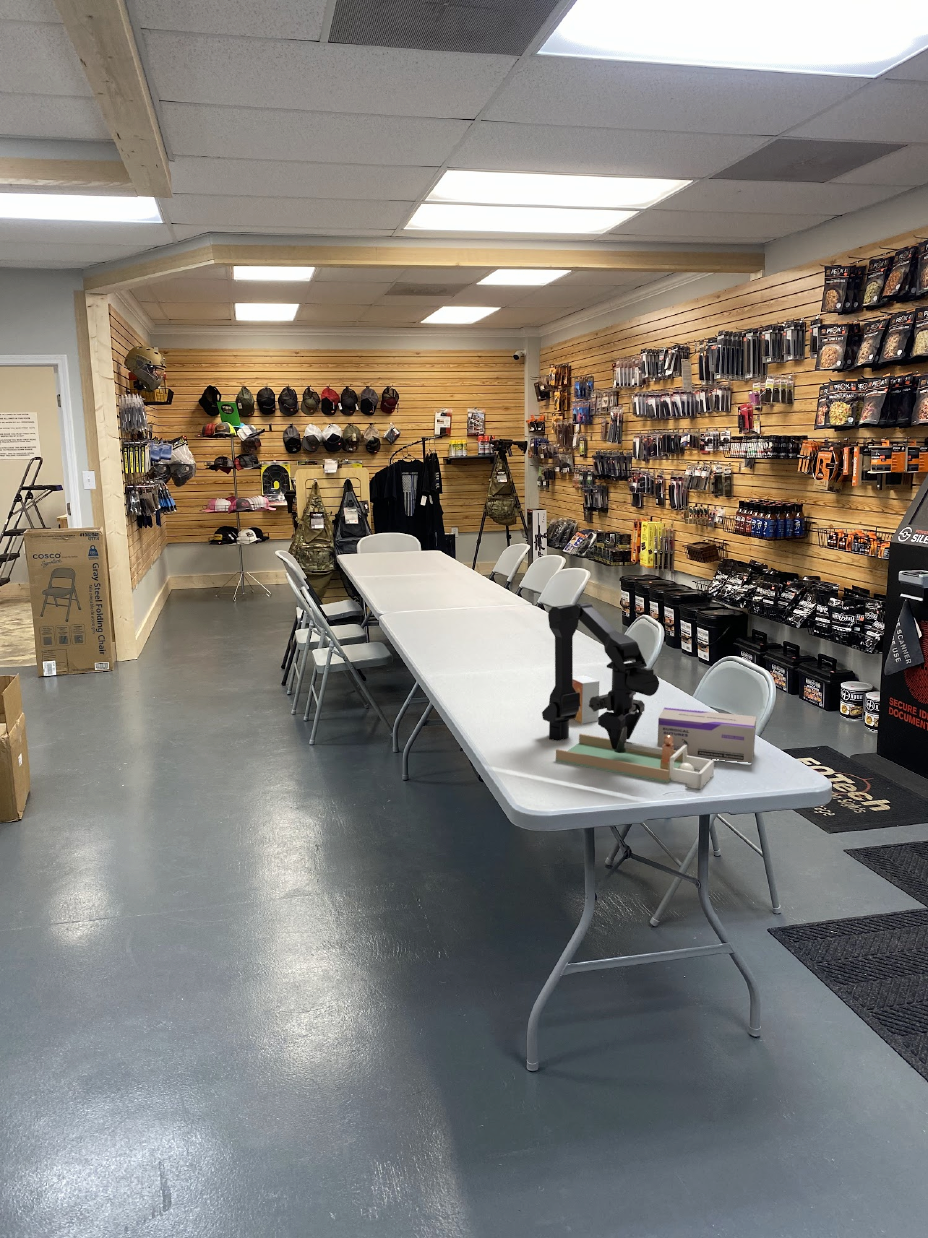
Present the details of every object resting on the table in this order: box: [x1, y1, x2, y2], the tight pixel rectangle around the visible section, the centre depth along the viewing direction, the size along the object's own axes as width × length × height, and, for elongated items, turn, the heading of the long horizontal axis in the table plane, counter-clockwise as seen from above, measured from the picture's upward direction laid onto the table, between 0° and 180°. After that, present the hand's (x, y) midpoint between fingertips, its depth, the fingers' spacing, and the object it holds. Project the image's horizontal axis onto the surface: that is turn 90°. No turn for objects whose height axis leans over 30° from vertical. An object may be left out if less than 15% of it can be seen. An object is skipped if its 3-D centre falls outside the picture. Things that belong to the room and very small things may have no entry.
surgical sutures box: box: [656, 706, 757, 764], centre depth 245 cm, size 25×11×11 cm, turn 69°
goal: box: [669, 745, 715, 790], centre depth 226 cm, size 12×8×7 cm
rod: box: [614, 725, 674, 770], centre depth 232 cm, size 5×16×9 cm, turn 59°
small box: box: [573, 674, 600, 724], centre depth 276 cm, size 8×6×13 cm
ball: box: [678, 763, 695, 772], centre depth 227 cm, size 4×4×4 cm
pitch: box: [555, 733, 689, 784], centre depth 236 cm, size 16×31×4 cm, turn 59°
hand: (620, 744), depth 236 cm, fingers open, 9 cm apart
